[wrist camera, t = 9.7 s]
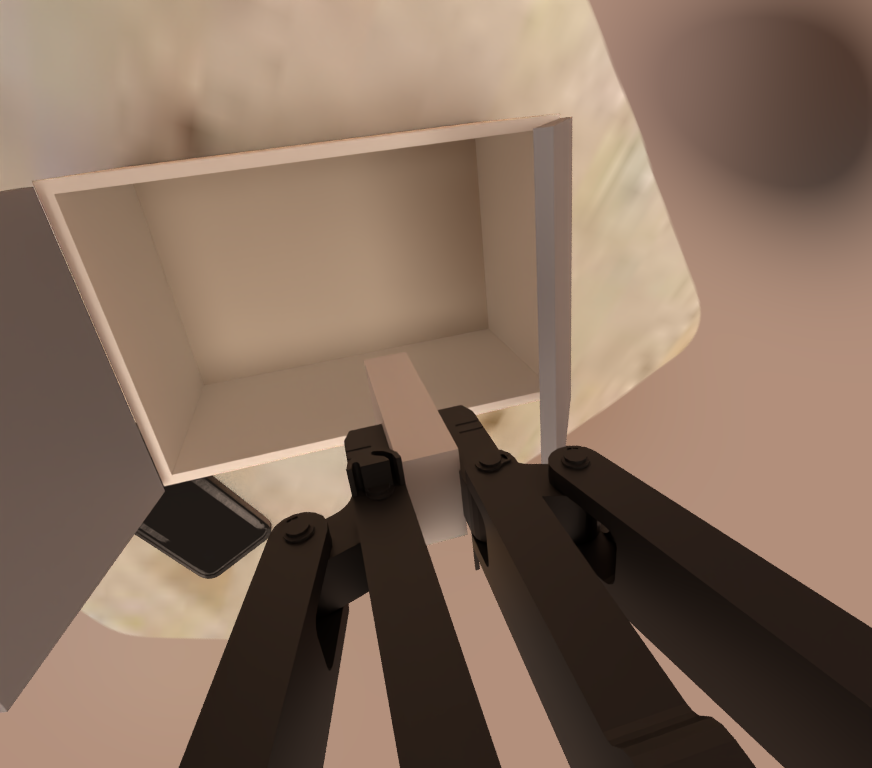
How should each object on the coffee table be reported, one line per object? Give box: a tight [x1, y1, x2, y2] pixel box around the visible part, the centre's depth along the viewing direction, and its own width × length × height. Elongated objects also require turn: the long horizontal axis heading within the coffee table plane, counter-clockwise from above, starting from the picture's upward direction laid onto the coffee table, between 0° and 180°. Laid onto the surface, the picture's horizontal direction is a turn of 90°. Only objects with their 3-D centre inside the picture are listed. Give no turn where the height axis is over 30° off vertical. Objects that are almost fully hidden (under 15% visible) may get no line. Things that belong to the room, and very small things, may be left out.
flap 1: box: [0, 187, 165, 712], centre depth 19 cm, size 16×12×1 cm
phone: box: [135, 423, 271, 579], centre depth 43 cm, size 8×1×15 cm
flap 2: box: [533, 117, 572, 464], centre depth 24 cm, size 16×12×1 cm
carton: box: [32, 114, 560, 486], centre depth 33 cm, size 16×24×12 cm, turn 98°
